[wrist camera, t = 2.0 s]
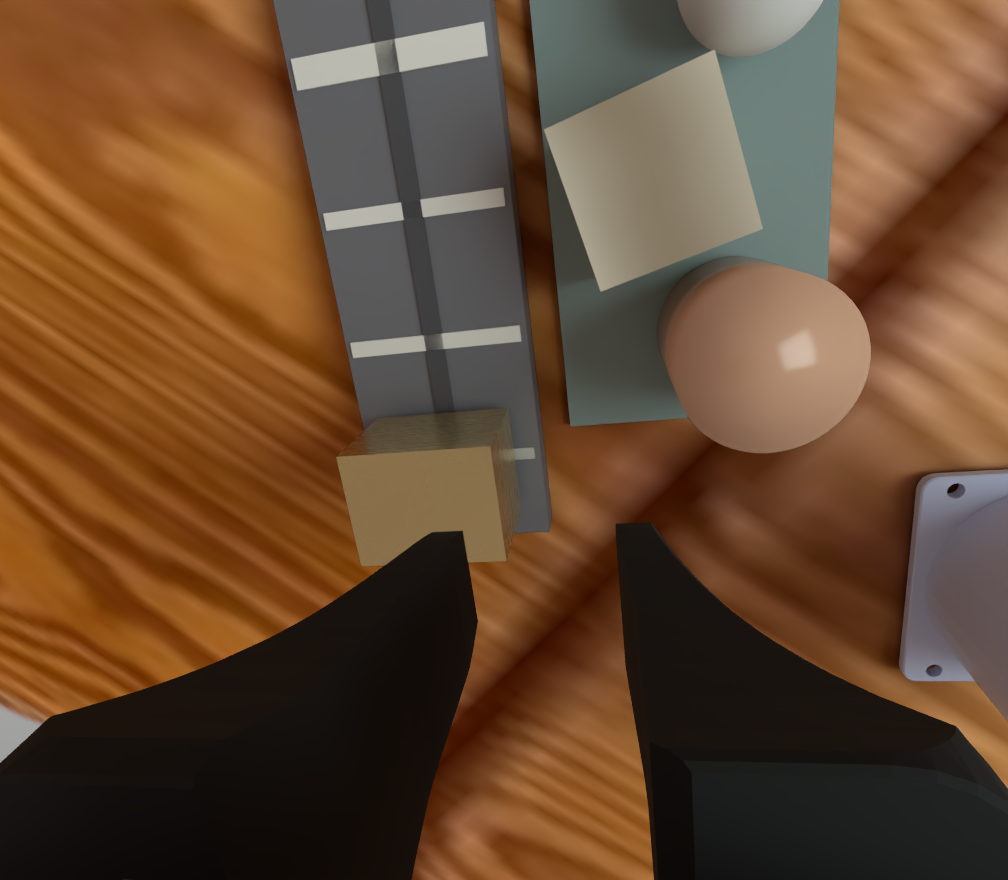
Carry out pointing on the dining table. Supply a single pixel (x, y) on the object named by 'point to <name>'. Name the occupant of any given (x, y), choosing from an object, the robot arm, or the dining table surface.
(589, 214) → the birch block
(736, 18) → the grey ball
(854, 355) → the peach domed cylinder
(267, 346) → the dining table surface
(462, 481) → the tan cardboard cube
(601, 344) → the slate mat
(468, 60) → the board
